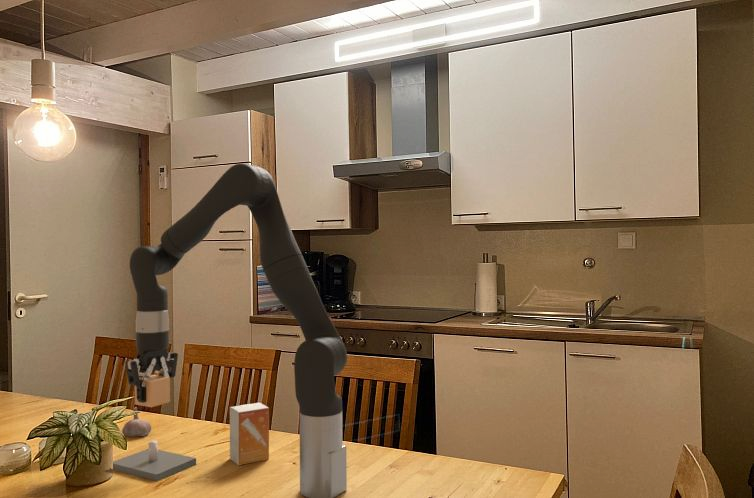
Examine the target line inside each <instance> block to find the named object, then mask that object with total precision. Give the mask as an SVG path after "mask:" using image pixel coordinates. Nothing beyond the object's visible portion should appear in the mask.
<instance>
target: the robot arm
mask: <svg viewBox="0 0 754 498" xmlns="http://www.w3.org/2000/svg"><path fill="white" fill-rule="evenodd" d="M238 206H247V208H248V209H249V211H250V213H251V215H252V217H253V219H254V222H255V224H256V227H257V229H258V234H259V259H260V264H261V267H262V270H263V273H264V275H265V277H266V280H267V282H268V284H269V287H270V289H271V290H272V292H273V294H274V295H275V297H276V298H277V299H278V301H279V302H280V303H282V305H283V306H284V307H285V309H287V311H288V312H289V313H290V314H291V315H292V316H293V318H294V319H295V321H297V324H298V325H299V327H300V330H301V332H302V335H303V337H304V340H305V341H303V342H302V343H300V344H299V346H298V347H297V349H296V351H295V355H294V361H293V366H294V367H293V369H294V387H295V389H294V390H295V391H294V392H295V398H296V401H297V403H298V407H299V409H298V410H299V493H300V495H302V496H304V497H306V498H336V497H337V496H339V495H340V494H342V493H344V492H345V491H347V489H348V487H347V486H348V485H347V482H348V481H347V478H348V477H347V473H348V471H347V469H348V467H347V465H348V464H347V463H348V462H347V446H346V445H344V444H343V399H342V397H341V396H340V395H339V394H337V393H336V388H335V387H336V385H335V376H336V375H338V374H339V373H341V372H342V371H343V370H344V369H345V368H346V365H347V360H348V352H347V348H346V346H345V344H344V341H343V339H342V337H341V336H340V334H339V332H338V331H337V329H336V326H335V325H334V323H333V321H332V319H331V318H330V317H329V313H328V312H327V310H326V308H325V306H324V304H323V301H322V298H321V296H320V293H319V292H318V289H317V286H316V284H315V282H314V280H313V277H312V275H311V272H310V269H309V268H308V265H307V263H306V260H305V258H304V256H303V254H302V252H301V249H300V247H299V245H298V243H297V240H296V238H295V235H294V233H293V231H292V229H291V227H290V224H289V222H288V220H287V218H286V215H285V213H284V209H283V207H282V206H283V205H282V203H281V199H280V196H279V194H278V189H277V187H276V184H275V181H274V179H273V177H272V175H271V174H270V173H269V172H268V171H267V170H266V169H264V168H262V167H260V166H257V165H253V164H249V163H237V164H234V165H232V166H231V167H229V168H228V169H227V170H226V171H225V172H224V173H223V174H222V175H221V176H220V177H219V179H217V181H216V182H215V183H214V185H213V186H212V187H211V188H210V189H209V190H208V191H207V192H206V193H205V195H203V197H202V198H201V199H200V200H199V201H198V202H197V203H196V204H195V205H194V206H193V207H192V208H191V209H190V210H189V211H188V212H187V213H186V214H184V215H183V216H182V217H181V218H180V219H178V220H177V221H176V222H175V223H173V224H172V225H171V226H170V227H168V228H167V229H166V230H165V231H164V232H163V233H162V235H161V236H160V244H159V245H154V246H153V245H151V246H149V245H148V246H147V245H144V246H143V245H141V246H138V247H137V248H135V249H134V250H133V251H132V252H131V255H130V258H129V271H130V274H131V277H132V278H131V279H132V282H133V283H132V284H133V286H134V290H135V293H136V315H135V348H136V352H137V354H136V357H135V358H134V359H132V360H129V359H128V360H125V368H126V369H125V370H126V375H127V382H128V385H130V386H134V387H135V386H136V388H137V400H138V402H141V403H144V402H146V387H145V386H146V384H147V381H148V378H149V377H150V376H151V375H152V373H156V375H158V376H164V377H170V379H171V378H174V377H176V373H177V365H178V358H179V354H178V353H177V352H173V351H172V352H171V351H168V348H169V347H170V316H169V299H168V297H169V296H168V295H169V294H168V289H167V287H166V286H163V285H160V284H159V282H158V279H157V276H162V275H166V274H167V273H169V272H171V271H172V270H173V269H174V268H176V267H177V265H178V264H179V262H181V260H182V259H183V258H184V256H185V254H187V253H188V252H189V251H191V250H192V249H193V248H194V247H196V246H198V244H200V243H201V242H202V241H203V240H204V239H206V237H207V236H208V234H209V233H210V231H211V230H212V228H213V226H214V225H215V223H216V222H217V221H218V220H219V219H220V218H221V217H222V216H223V215H224V214H226V213H227V212H228V211H230V210H232V209H234V208H236V207H238ZM142 378H143V379H142ZM141 380H142V381H141Z"/></svg>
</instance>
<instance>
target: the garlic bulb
mask: <svg viewBox="0 0 754 498" xmlns="http://www.w3.org/2000/svg"><path fill="white" fill-rule="evenodd" d="M132 410H133V411H137V412H138V407H137V406H135V407H133V409H132ZM151 431H152V425H151V423H150V422H148V421H147V420H145V419H140V418H139V414H136V415H134V414H133V419H131V420H130V419H129V420H127V422H126V423H125V424H124V426H123V427H122V429H121V433H122V435H123V434H124V435H125V436H124V435H123V436H124V437H129V436H130V437H135V436H136V437H139V436H140V437H143V436H145V437H146V436H148V435H149V434H150V433H151Z"/></svg>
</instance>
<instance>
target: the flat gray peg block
mask: <svg viewBox="0 0 754 498" xmlns="http://www.w3.org/2000/svg"><path fill="white" fill-rule="evenodd" d="M158 448H159V447H158V440H156V439H155V440H150V441H148V448H146V449H143V450H141V451H138V452H135V453H132V454H130V455H127V456H124V457H122V458H119V459H116V460H113V461H112V462H113V470H112V471H116V472H120V473H125V474H128V475H131V476H136V477H140V478H142V479H146V480H150V481H151V480H152V481H155V482H158V481H160V480H163V479H165V478H167V477H170V476H172V475H174V474H177V473H179V472H182V471H184V470H186V469H189V468H190V467H193V466H196V465H197V458H196V457H191V456H188V455H183V454H179V453H174V452H171V451H166V450H162V449H158Z"/></svg>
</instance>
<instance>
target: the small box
mask: <svg viewBox="0 0 754 498" xmlns="http://www.w3.org/2000/svg"><path fill="white" fill-rule="evenodd" d="M229 459H230V460H232V461H233V463H235V464H237V465H238V466H243V465H246V464H251V463H256V462H262V461H268V460H269V459H270V407H268V406H267V405H265V404H263V403H261V402H260V401H259V402H254V403H248V404H241V405H235V406H229Z"/></svg>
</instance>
